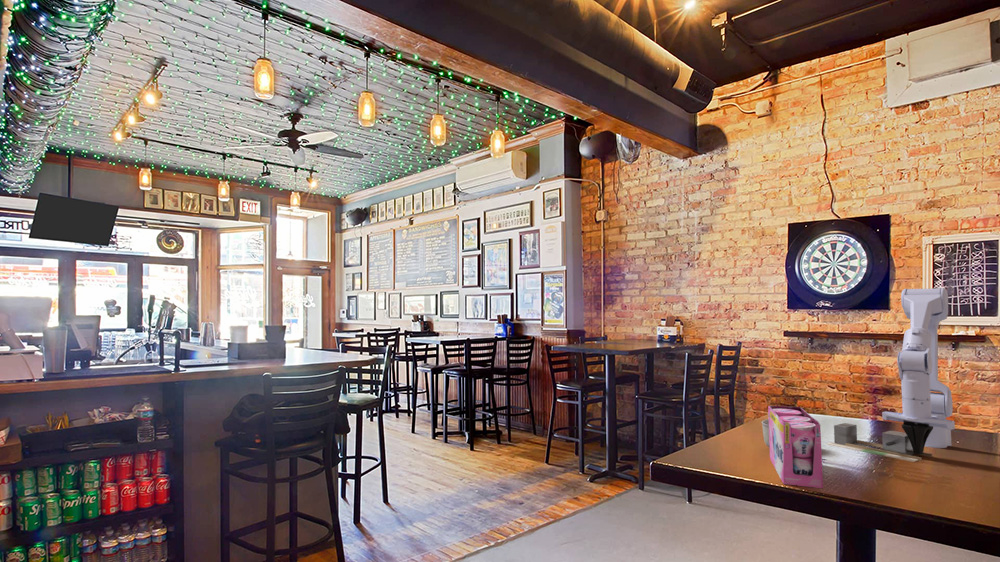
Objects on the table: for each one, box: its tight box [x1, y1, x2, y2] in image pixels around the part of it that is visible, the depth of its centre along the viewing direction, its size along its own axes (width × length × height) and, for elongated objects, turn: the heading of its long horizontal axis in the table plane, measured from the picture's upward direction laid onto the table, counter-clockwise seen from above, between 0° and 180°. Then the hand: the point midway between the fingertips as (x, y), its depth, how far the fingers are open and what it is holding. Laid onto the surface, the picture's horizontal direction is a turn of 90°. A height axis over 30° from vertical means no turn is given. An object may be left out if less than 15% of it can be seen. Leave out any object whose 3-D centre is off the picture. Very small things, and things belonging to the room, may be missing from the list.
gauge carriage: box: [881, 430, 915, 456], centre depth 137 cm, size 8×5×5 cm, turn 122°
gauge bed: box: [826, 422, 933, 463], centre depth 141 cm, size 12×22×6 cm, turn 32°
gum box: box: [767, 405, 824, 489], centre depth 126 cm, size 24×8×14 cm, turn 160°
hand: (918, 453), depth 134 cm, fingers closed
